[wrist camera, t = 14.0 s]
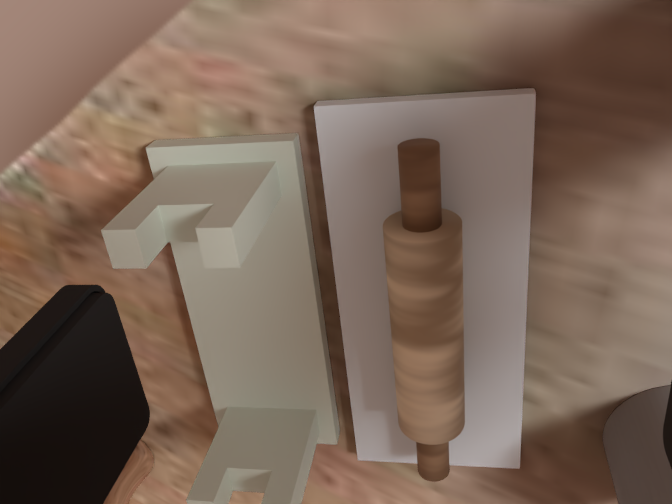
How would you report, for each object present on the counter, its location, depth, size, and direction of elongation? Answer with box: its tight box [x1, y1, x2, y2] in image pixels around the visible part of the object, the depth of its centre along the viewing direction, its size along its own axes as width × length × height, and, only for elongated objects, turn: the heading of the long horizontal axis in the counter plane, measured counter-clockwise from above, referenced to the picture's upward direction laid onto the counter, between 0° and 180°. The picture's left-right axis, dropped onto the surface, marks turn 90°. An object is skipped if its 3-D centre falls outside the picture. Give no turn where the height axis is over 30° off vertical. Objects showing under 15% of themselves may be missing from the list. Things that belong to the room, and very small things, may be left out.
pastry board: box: [314, 88, 536, 469], centre depth 45 cm, size 13×30×1 cm, turn 6°
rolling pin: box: [383, 138, 465, 481], centre depth 43 cm, size 26×5×5 cm, turn 6°
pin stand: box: [101, 133, 340, 504], centre depth 44 cm, size 10×26×11 cm, turn 6°
